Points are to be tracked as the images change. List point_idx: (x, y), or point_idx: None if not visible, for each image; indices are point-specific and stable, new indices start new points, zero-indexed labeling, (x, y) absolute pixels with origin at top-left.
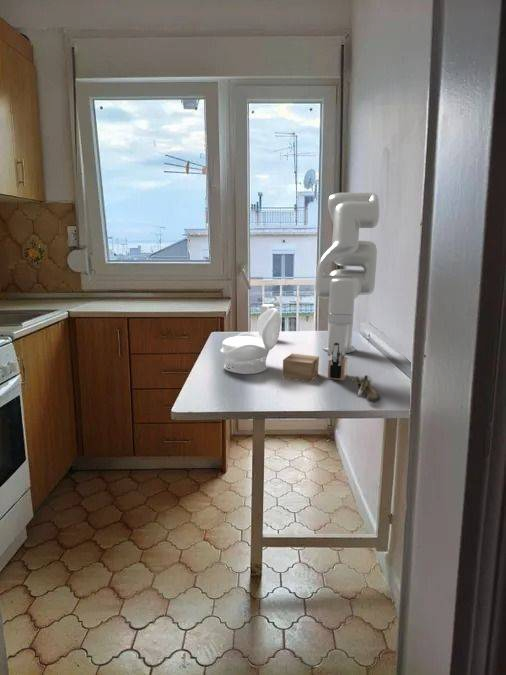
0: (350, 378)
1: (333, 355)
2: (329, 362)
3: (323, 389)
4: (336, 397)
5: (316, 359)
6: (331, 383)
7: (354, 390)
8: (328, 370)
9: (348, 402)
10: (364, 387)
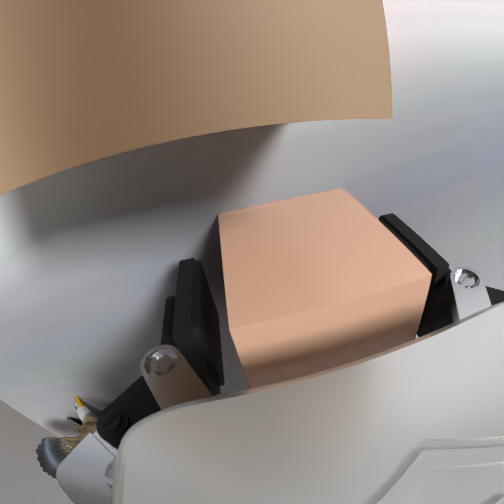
0: (80, 427)
1: (62, 483)
2: (230, 315)
3: (14, 284)
4: (3, 351)
5: (212, 131)
6: (127, 279)
7: (121, 383)
8: (222, 252)
9: (12, 383)
10: (61, 446)
